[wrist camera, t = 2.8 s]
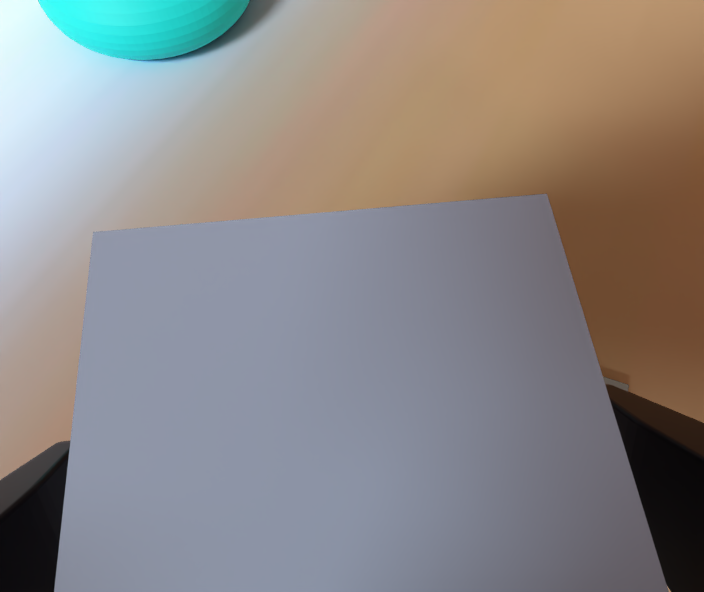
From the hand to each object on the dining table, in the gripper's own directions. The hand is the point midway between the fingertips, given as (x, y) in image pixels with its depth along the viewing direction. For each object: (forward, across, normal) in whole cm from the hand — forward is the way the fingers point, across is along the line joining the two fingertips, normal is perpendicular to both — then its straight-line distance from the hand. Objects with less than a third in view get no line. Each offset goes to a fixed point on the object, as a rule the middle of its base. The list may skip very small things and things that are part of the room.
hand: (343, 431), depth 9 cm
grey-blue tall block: (+4, 0, +6) cm, 7 cm away
